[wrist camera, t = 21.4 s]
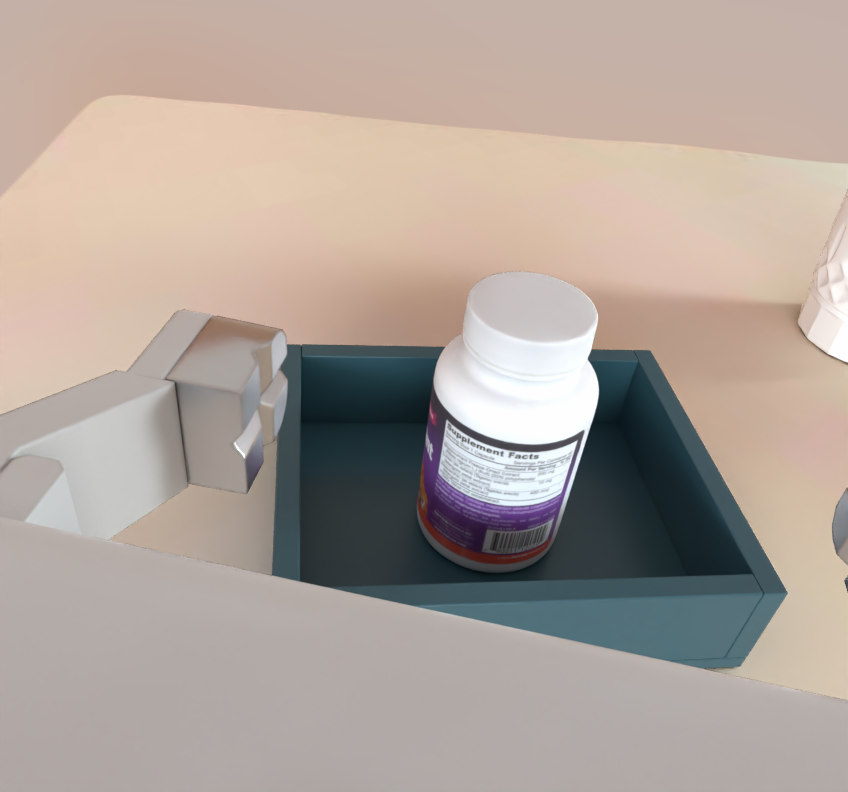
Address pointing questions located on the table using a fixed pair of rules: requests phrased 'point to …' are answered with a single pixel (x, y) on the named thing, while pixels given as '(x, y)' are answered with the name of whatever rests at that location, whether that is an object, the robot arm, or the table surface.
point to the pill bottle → (508, 422)
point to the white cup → (830, 293)
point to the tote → (577, 534)
